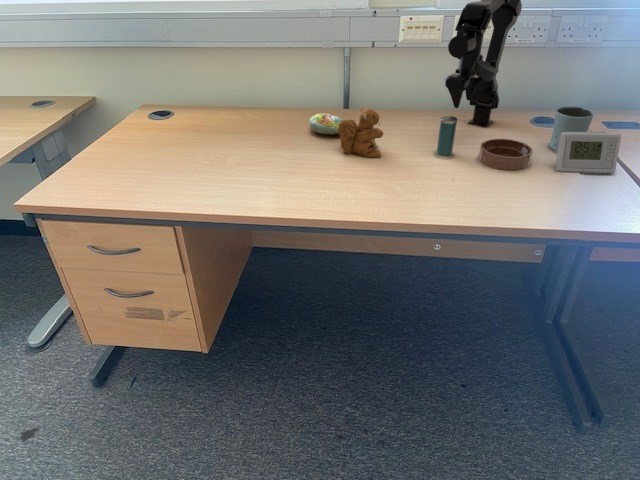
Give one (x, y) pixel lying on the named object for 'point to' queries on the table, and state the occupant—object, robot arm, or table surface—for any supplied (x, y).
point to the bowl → (505, 154)
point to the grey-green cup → (570, 122)
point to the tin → (446, 135)
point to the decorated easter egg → (325, 124)
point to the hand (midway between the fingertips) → (462, 104)
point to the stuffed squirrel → (361, 134)
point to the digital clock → (587, 152)
